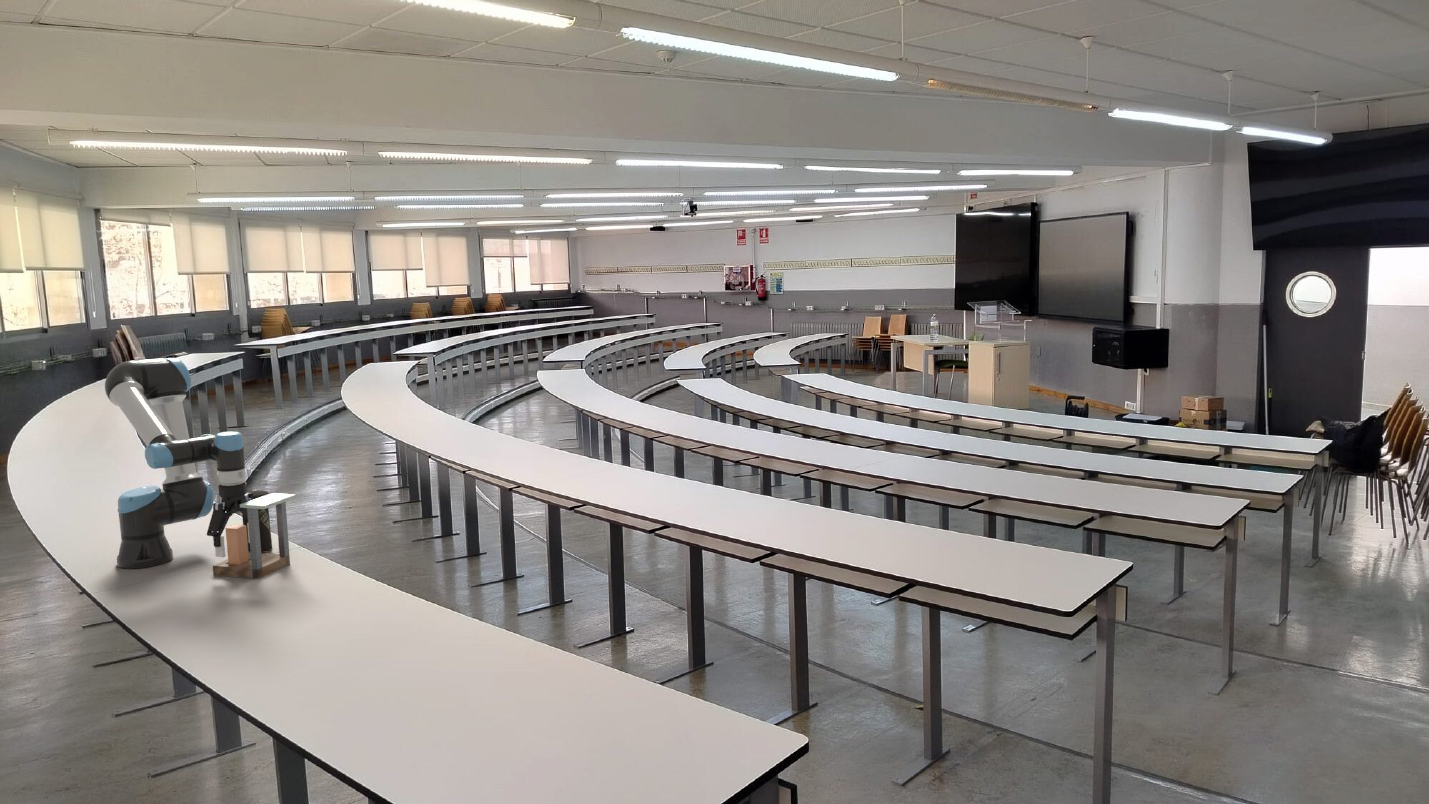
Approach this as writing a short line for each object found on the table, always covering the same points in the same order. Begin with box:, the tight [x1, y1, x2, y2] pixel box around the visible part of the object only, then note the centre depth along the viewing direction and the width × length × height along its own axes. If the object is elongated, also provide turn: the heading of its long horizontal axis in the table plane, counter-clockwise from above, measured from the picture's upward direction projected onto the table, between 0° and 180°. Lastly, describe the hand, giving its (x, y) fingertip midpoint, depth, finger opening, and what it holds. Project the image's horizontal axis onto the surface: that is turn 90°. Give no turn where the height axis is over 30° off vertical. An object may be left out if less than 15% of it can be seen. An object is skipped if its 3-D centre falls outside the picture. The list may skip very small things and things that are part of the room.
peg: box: [225, 524, 249, 565], centre depth 274 cm, size 4×4×14 cm
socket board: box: [212, 552, 291, 580], centre depth 276 cm, size 16×14×3 cm
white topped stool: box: [240, 492, 297, 580], centre depth 273 cm, size 8×14×23 cm, turn 167°
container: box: [241, 489, 273, 553], centre depth 294 cm, size 9×9×20 cm
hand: (237, 549), depth 274 cm, fingers open, 13 cm apart
